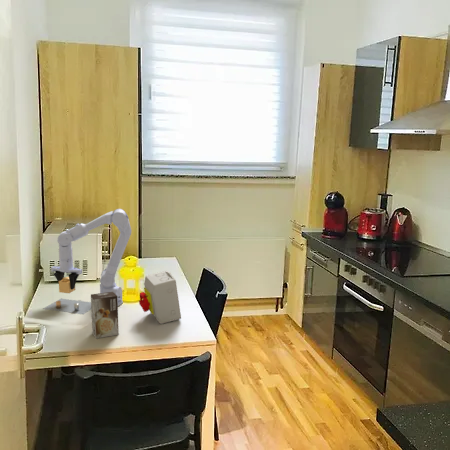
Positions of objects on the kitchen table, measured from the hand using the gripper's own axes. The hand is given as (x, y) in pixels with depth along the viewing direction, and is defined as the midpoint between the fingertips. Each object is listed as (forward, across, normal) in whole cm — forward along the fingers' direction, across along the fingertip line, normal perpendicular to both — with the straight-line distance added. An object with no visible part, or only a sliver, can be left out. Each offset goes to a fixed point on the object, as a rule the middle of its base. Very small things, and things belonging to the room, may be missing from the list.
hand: (67, 288), depth 222 cm
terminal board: (+8, -4, +3) cm, 10 cm away
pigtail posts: (+7, -4, +7) cm, 11 cm away
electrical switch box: (+9, -44, 0) cm, 45 cm away
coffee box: (+9, -31, +22) cm, 39 cm away
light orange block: (+1, 0, 0) cm, 1 cm away
